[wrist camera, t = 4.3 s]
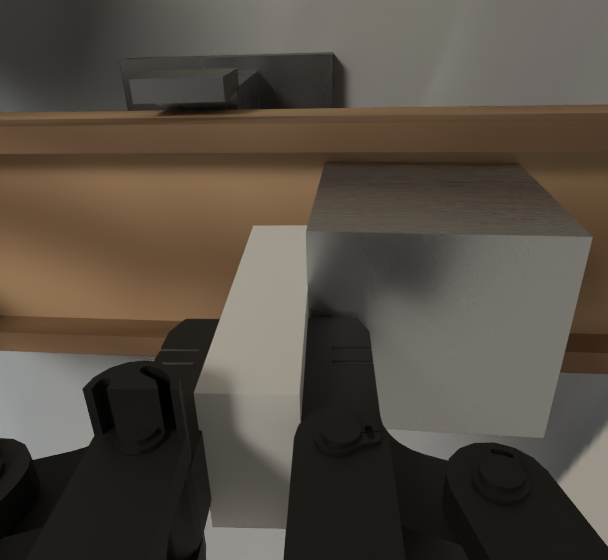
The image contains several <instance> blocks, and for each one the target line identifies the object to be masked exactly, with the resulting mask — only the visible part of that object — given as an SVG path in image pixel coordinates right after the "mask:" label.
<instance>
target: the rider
mask: <svg viewBox="0 0 608 560" xmlns="http://www.w3.org/2000/svg"><path fill="white" fill-rule="evenodd" d="M592 238H593V237H592V236H591V235H590V234H589V233H588V232H587V231H586V230H585V229H584V228H583V227H582V226H581V225H580V224H579V223H578V222H577V221H576V220H575V219H574V218H573V217H572V216H571V215H570V214H569V213H568V212H567V211H566V210H565V209H564V208H563V207H562V206H561V205H560V204H559V203H558V202H557V201H556V200H555V199H554V198H553V197H552V196H551V195H550V194H549V193H548V192H547V191H546V190H545V189H544V188H543V187H542V186H541V185H540V184H539V183H538V182H537V181H536V180H535V179H534V178H533V177H532V176H531V175H530V174H529V173H528V172H527V171H526V170H525V169H524V168H523V167H522V166H521V165H520V164H519V163H399V162H325V164H324V167H323V171H322V175H321V178H320V182H319V185H318V189H317V193H316V196H315V200H314V203H313V207H312V211H311V214H310V218H309V221H308V225H307V229H306V267H307V285H308V317H357V318H358V319H359V320H360V321H361V322H362V323H363V325H364V326H365V327H366V328H367V329H368V330H369V332H370V340H371V347H372V348H371V349H372V355H373V364H374V371H375V378H376V386H377V394H378V401H379V409H380V416H381V420H382V423H383V426H384V427H385V428H386V429H395V430H412V431H430V432H447V433H464V434H481V435H498V436H515V437H532V438H544V435H545V431H546V427H547V423H548V419H549V415H550V411H551V407H552V403H553V398H554V394H555V390H556V386H557V382H558V378H559V374H560V370H561V366H562V361H563V357H564V353H565V349H566V345H567V341H568V337H569V333H570V329H571V325H572V320H573V316H574V312H575V308H576V304H577V300H578V296H579V292H580V288H581V283H582V279H583V275H584V271H585V267H586V263H587V259H588V255H589V251H590V246H591V242H592Z"/></svg>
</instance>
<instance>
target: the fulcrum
mask: <svg viewBox="0 0 608 560" xmlns="http://www.w3.org/2000/svg"><path fill="white" fill-rule="evenodd" d="M119 61H120V66H121V72H122V78H123V84H124V90H125V95H126V101H127V107H128V111H162V110H239V109H316V108H333V52H328V53H293V54H258V55H223V56H188V57H153V58H126V59H121V60H119Z"/></svg>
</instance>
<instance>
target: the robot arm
mask: <svg viewBox="0 0 608 560" xmlns="http://www.w3.org/2000/svg"><path fill="white" fill-rule="evenodd" d="M306 229H307V225H273V226H253V228H252V231H251V233H250V236H249V239H248V242H247V245H246V247H245V250H244V253H243V256H242V259H241V262H240V264H239V267H238V270H237V273H236V276H235V278H234V281H233V284H232V287H231V290H230V292H229V295H228V298H227V301H226V304H225V307H224V309H223V312H222V315H221V318H220V319H185V320H183V321H182V322H181V323H180V324H178V325H177V326H176V327H175V328H173V329H172V330H171V331H170V332H169V333H168V335H167V337H166V339H165V341H164V343H163V345H162V347H161V351H159V353H158V355H157V357H156V359H155V361H154V362H152V361H137V362H128V363H124V364H121V365H118V366H115V367H112V368H109V369H107V370H106V371H104V372H102V373H100V374H99V375H97V376H95V377H93V379H92V380H91V381H90V382H89V383H88V384H87V385H86V386H85V387H84V388H83V393H84V397H85V400H86V404H87V408H88V412H89V416H90V420H91V423H92V427H93V431H94V435H95V436H94V437H93V439H92V441H91V443H90V445H89V446H87V447H85V448H81V449H78V450H75V451H71V452H67V453H62V454H58V455H53V456H49V457H44V458H40V459H35V460H32V458H31V455H30V453H29V451H28V449H27V447H26V445H25V444H23V443H21V442H19V441H16V440H14V439H4V438H0V560H206V542H205V536H204V529H205V525H206V521H207V516H208V512H209V508H210V511H211V518H212V525H213V527H234V528H278V529H286V537H285V548H284V560H608V546H607V545H606V544H605V543H604V541H603V540H602V539H601V538H600V536H599V535H598V534H597V533H596V531H595V530H594V529H593V528H592V527H591V525H590V524H589V523H588V521H587V520H586V519H585V517H584V516H583V515H582V514H581V512H580V511H579V510H578V509H577V508H576V506H575V505H574V504H573V502H572V501H571V500H570V499H569V498H568V496H567V495H566V494H565V493H564V491H563V490H562V489H561V487H560V486H559V485H558V484H557V482H556V481H555V480H554V479H553V477H552V476H551V475H550V474H549V472H548V471H547V470H546V469H545V468H544V467H542V466H541V465H540V464H539V463H538V462H537V461H536V460H535V459H534V458H533V457H531V456H529V455H527V454H525V453H523V452H521V451H519V450H517V449H516V448H513V447H509V446H505V445H501V444H497V443H473V444H471V445H468V446H465V447H462V448H459V449H458V450H457V451H456V452H455V453H454V454H453V455H452V456H451V457H450V458H449V461H447V460H443V459H439V458H436V457H432V456H428V455H425V454H422V453H419V452H416V451H413V450H411V449H409V448H407V447H406V446H404V445H402V444H400V443H399V442H398V441H396V440H395V439H394V438H393V437H392V436H391V435H390V434H389V433H388V431H387V430H386V428H385V427H384V426H383V423H382V420H381V416H380V409H379V401H378V394H377V386H376V378H375V371H374V364H373V355H372V349H371V348H372V347H371V340H370V332H369V330H368V329H367V328H366V327H365V326H364V325H363V323H362V322H361V321H360V320H359V319H358V318H357V317H308V285H307V267H306Z"/></svg>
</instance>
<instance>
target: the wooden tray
mask: <svg viewBox="0 0 608 560" xmlns="http://www.w3.org/2000/svg"><path fill="white" fill-rule="evenodd" d="M325 162H399V163H519V164H520V165H521V166H522V167H523V168H524V169H525V170H526V171H527V172H528V173H529V174H530V175H531V176H532V177H533V178H534V179H535V180H536V181H537V182H538V183H539V184H540V185H541V186H542V187H543V188H544V189H545V190H546V191H547V192H548V193H549V194H550V195H551V196H552V197H553V198H554V199H555V200H556V201H557V202H558V203H559V204H560V205H561V206H562V207H563V208H564V209H565V210H566V211H567V212H568V213H569V214H570V215H571V216H572V217H573V218H574V219H575V220H576V221H577V222H578V223H579V224H580V225H581V226H582V227H583V228H584V229H585V230H586V231H587V232H588V233H589V234H590V235H591V236H592V237H593V238H592V242H591V246H590V251H589V255H588V259H587V263H586V267H585V271H584V275H583V279H582V283H581V288H580V292H579V296H578V300H577V304H576V308H575V312H574V316H573V320H572V325H571V329H570V333H569V337H568V341H567V345H566V349H565V353H564V357H563V361H562V366H561V370H560V372H567V373H593V374H608V105H546V106H470V107H393V108H316V109H239V110H162V111H85V112H8V113H0V351H24V352H50V353H75V354H101V355H127V356H153V357H157V355H158V353H159V351H161V347H162V345H163V343H164V341H165V339H166V337H167V335H168V333H169V332H170V331H171V330H172V329H173V328H175V327H176V326H177V325H178V324H180V323H181V322H182V321H183V320H185V319H220V318H221V315H222V312H223V309H224V307H225V304H226V301H227V298H228V295H229V292H230V290H231V287H232V284H233V281H234V278H235V276H236V273H237V270H238V267H239V264H240V262H241V259H242V256H243V253H244V250H245V247H246V245H247V242H248V239H249V236H250V233H251V231H252V228H253V226H273V225H308V221H309V218H310V214H311V211H312V207H313V203H314V200H315V196H316V193H317V189H318V185H319V182H320V178H321V175H322V171H323V167H324V164H325Z"/></svg>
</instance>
